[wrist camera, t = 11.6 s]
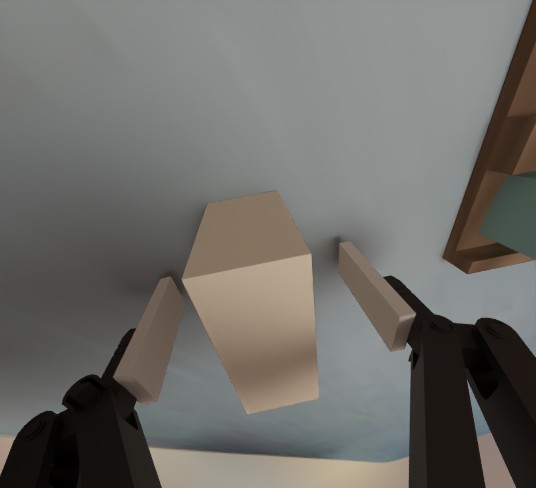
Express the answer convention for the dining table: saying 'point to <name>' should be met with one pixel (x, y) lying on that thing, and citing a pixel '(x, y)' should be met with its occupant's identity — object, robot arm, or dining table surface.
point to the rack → (499, 162)
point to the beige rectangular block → (256, 299)
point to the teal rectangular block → (514, 214)
